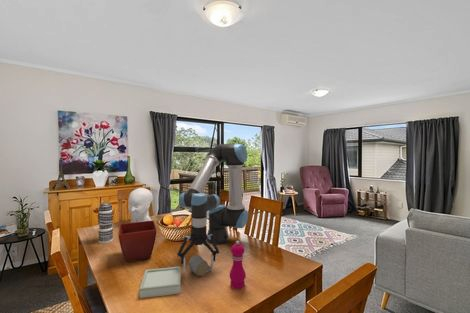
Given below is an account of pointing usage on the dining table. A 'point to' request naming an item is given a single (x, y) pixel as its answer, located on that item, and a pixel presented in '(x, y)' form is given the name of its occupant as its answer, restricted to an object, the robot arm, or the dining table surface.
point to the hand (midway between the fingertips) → (198, 269)
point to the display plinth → (160, 282)
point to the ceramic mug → (199, 265)
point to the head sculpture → (140, 204)
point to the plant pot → (137, 240)
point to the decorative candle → (105, 223)
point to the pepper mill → (237, 267)
